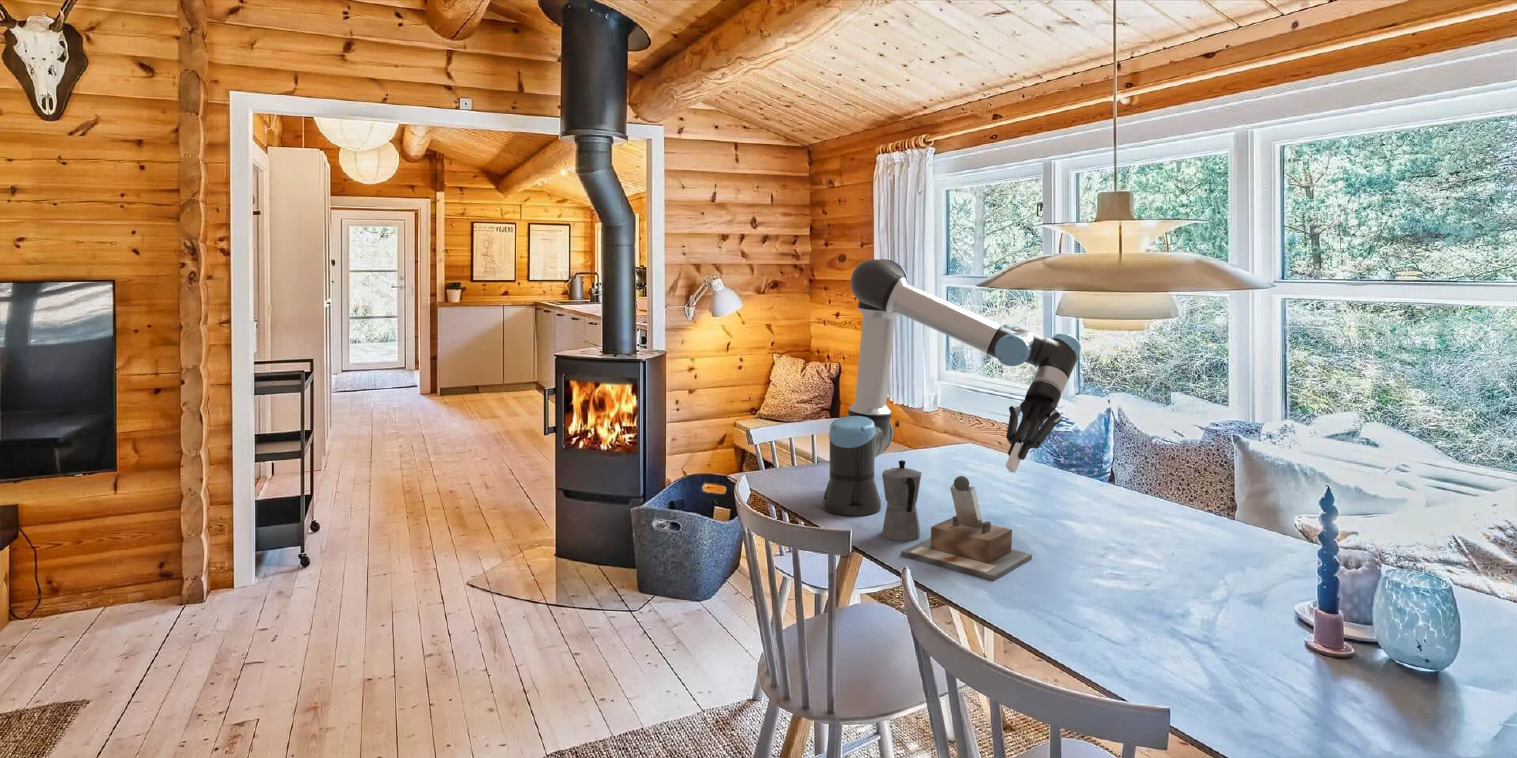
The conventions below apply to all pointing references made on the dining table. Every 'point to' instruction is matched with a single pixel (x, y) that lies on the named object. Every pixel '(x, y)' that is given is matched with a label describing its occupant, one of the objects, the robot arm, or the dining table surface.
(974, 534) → the switch unit
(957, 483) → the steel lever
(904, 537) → the coffeepot
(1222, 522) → the dining table surface
